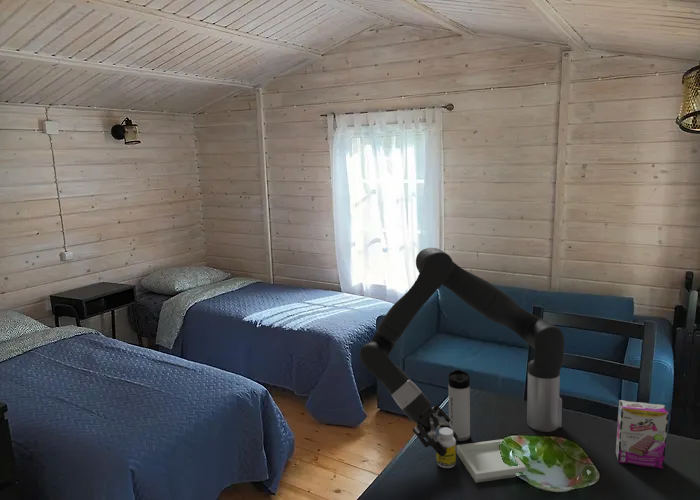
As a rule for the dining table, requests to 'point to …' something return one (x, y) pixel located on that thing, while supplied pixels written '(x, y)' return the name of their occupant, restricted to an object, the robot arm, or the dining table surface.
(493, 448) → the tray
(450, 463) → the supplement bottle
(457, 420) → the travel mug
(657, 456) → the candy bar box
